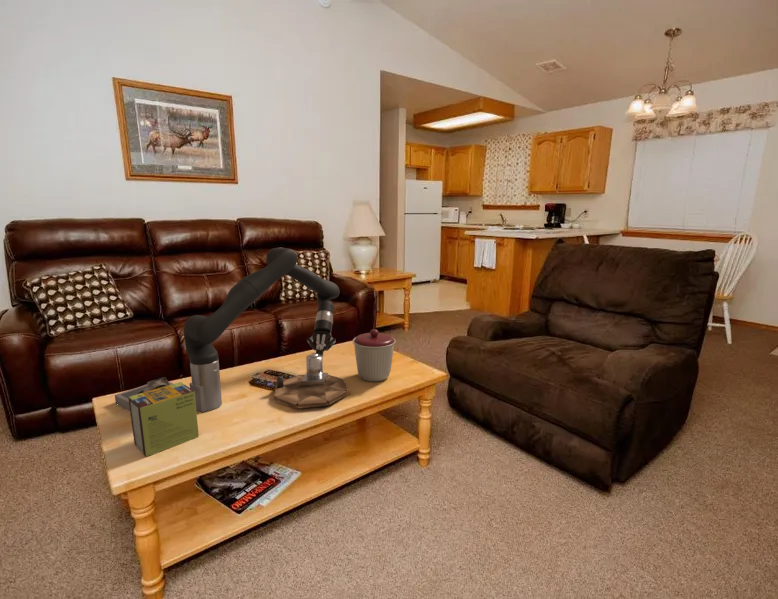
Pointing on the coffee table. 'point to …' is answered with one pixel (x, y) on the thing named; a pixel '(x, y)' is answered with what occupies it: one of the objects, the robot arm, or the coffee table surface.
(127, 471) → the coffee table surface
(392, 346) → the canister
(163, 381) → the caster wheel
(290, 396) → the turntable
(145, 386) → the chock frame
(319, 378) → the silver post on plate
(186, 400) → the protein box
